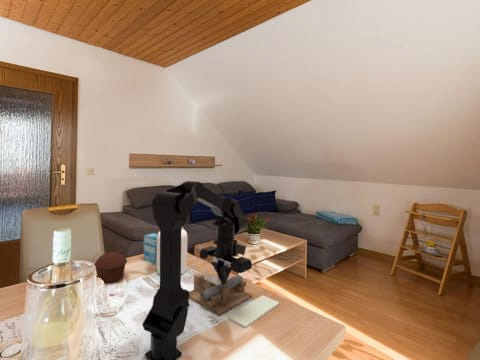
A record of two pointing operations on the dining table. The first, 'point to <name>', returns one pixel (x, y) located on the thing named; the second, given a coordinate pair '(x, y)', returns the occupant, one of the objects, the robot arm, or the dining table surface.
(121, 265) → the muffin
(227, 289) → the cradle
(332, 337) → the dining table surface
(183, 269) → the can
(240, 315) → the mat
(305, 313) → the dining table surface
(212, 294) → the grey rod
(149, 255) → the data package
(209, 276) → the beige wooden bar
